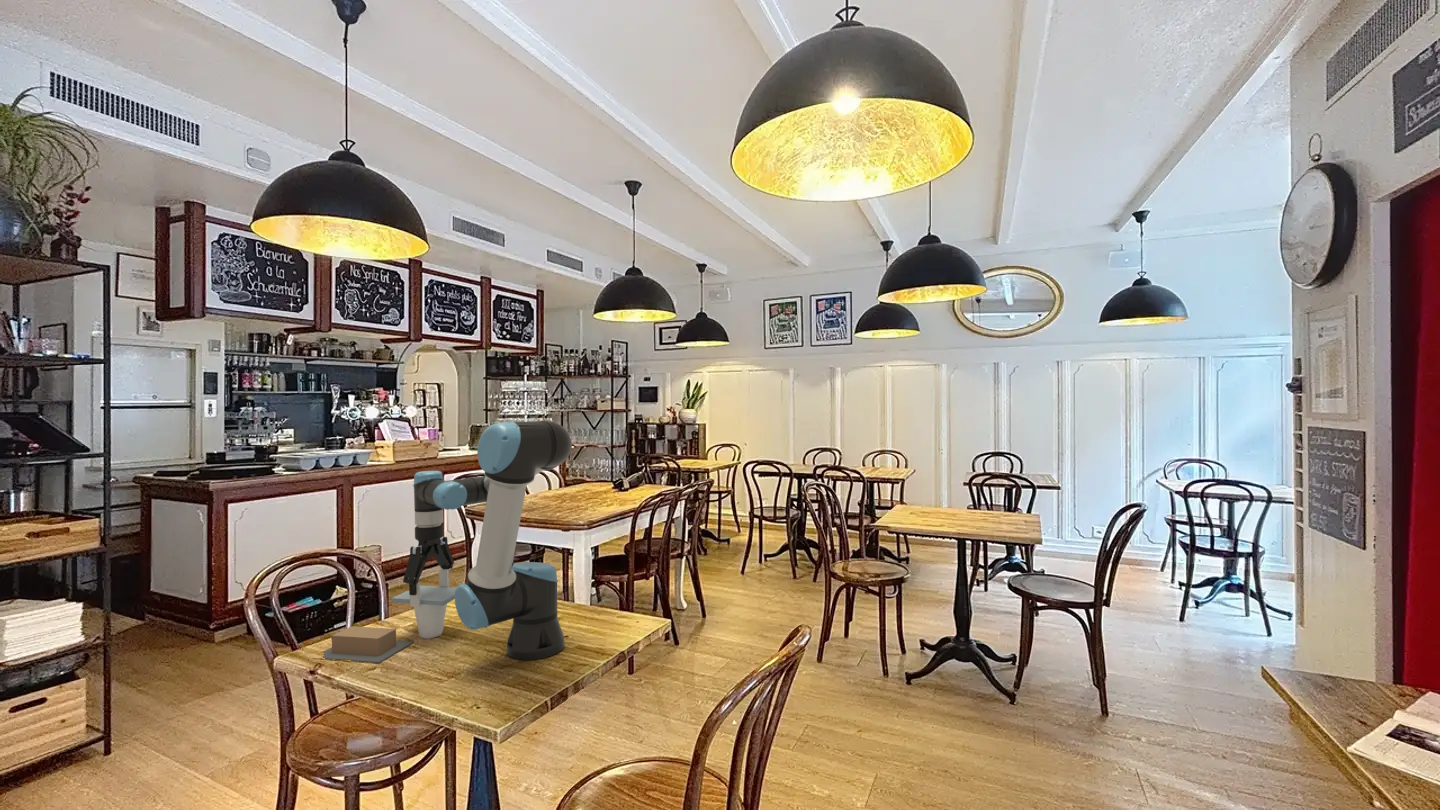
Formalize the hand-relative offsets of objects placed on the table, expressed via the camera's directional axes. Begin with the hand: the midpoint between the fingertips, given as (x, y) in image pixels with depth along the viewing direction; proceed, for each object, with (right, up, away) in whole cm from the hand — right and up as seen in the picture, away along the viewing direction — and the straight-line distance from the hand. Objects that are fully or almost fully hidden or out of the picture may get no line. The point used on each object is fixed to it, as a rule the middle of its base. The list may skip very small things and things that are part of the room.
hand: (430, 598), depth 183 cm
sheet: (0, 0, 0) cm, 0 cm away
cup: (0, -11, 0) cm, 11 cm away
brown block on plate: (-13, -11, -11) cm, 20 cm away
